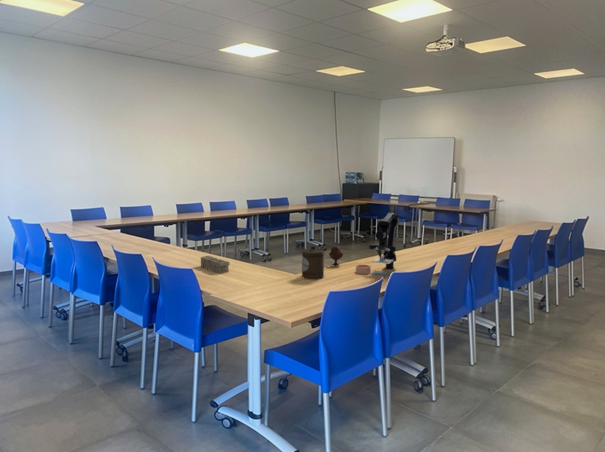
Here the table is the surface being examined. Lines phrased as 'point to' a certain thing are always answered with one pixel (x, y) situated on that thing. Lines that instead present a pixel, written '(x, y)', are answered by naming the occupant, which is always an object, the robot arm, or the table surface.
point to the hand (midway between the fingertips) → (382, 259)
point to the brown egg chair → (335, 254)
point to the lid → (382, 260)
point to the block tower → (214, 264)
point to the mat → (381, 273)
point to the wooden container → (313, 263)
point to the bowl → (363, 269)
